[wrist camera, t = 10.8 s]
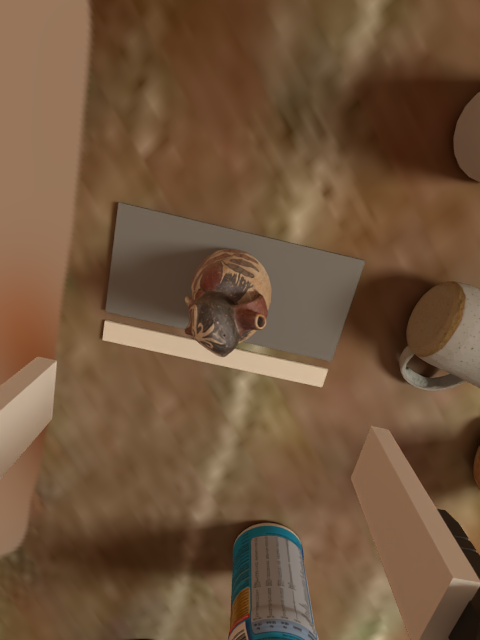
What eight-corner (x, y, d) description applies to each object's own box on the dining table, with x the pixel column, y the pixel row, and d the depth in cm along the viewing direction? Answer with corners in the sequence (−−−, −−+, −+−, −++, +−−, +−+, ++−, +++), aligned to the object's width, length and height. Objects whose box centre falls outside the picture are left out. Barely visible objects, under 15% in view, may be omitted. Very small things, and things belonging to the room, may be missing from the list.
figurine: (184, 255, 34) (152, 288, 22) (263, 241, 33) (272, 266, 22) (201, 330, 36) (180, 394, 25) (275, 317, 36) (289, 377, 24)
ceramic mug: (430, 267, 34) (478, 290, 27) (508, 300, 35) (575, 330, 28) (373, 365, 38) (403, 409, 30) (446, 393, 39) (491, 441, 31)
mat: (330, 359, 37) (331, 361, 37) (107, 310, 36) (105, 311, 36) (363, 260, 34) (365, 260, 34) (120, 202, 33) (118, 202, 32)
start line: (321, 385, 38) (322, 387, 38) (103, 338, 37) (102, 340, 37) (327, 368, 38) (327, 369, 37) (105, 319, 36) (104, 320, 36)
